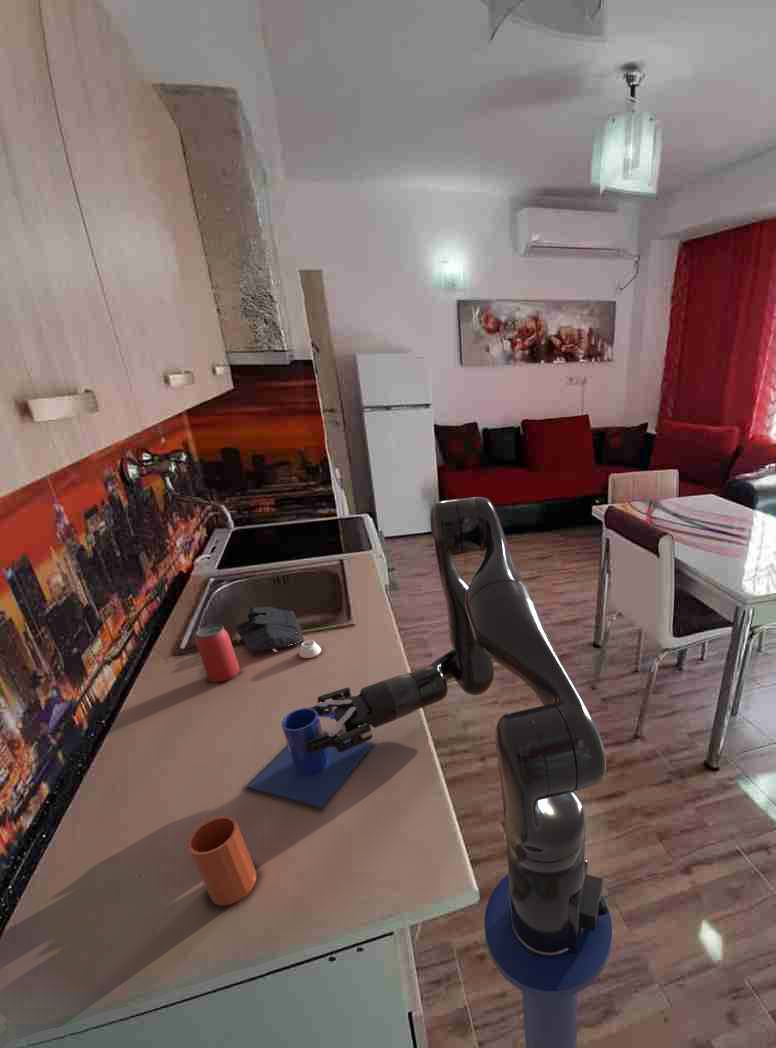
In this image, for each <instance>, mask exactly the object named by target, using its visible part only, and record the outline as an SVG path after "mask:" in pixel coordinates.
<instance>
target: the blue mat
mask: <svg viewBox="0 0 776 1048" xmlns="http://www.w3.org/2000/svg"><path fill="white" fill-rule="evenodd" d="M325 733H326V732H323V734H325ZM327 735H329V733H327ZM350 740H351V739H347V740H345V741H344V743H347V742H349V741H350ZM372 746H373V743H371V742H367V741H365V742H363V743H361V744H359V745H356V746H354V747H352V748H350V749H348V750H345V751H343V752H338V749H337V748H335V747H332V746H330V747H328V748H327V751H328V755H329V763H328V765H327V766H326V768H325V769H323V770H322V771H321V772H319V773H317V774H314V775H311V776H302V775H299V774H298V773H297V772H296V770H295V768H294V765H293V762H292V758H291V755H290V752H289V748H288V746H287V747H286V748H285V749H284V750H283V751H282V752H281V753H279V755H278V756H277V757H275V759H274V760H273V761H272V762H270V763H269V765H268V766H267V767H266V768H265V769H264V770H262V771H261V773H260V774H258V775H257V776H256V777H255V779H254V780H253V781H251V783H249V784H248V786H247V788H248V789H252V790H255V791H258V792H262V793H266V794H268V795H272V796H276V797H279V798H283V799H287V800H290V801H293V802H297V803H301V804H304V805H308V806H311V807H315V808H318V809H322V808H323V807H324V806H325V804H326V803H327V802H328V801H329V800H330V798H331V797H332V795H334V793H335V792H336V791H337V789H338V788H339V787H340V786H341V784H343V782H344V780H345V779H347V777H348V776H349V774H350V773H351V772H352V771H353V770H354V768H355V767H356V766H357V764H358V763H359V762H360V761H361V760H362V758H363V757H364V756H365V755H366V753H368V751H369V749H370V748H371V747H372Z"/></svg>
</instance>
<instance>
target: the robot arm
mask: <svg viewBox="0 0 776 1048" xmlns="http://www.w3.org/2000/svg"><path fill="white" fill-rule="evenodd" d="M429 519H430V521H429V522H430V532H431V538H432V544H433V549H434V555H435V559H436V565H437V570H438V574H439V578H440V583H441V584H440V585H441V588H442V592H443V596H444V600H445V605H446V612H447V623H448V634H449V641H450V645H451V647H452V649H451V650H449V651H448V652H446V653H445V654H443V655H442V656H439V658H437V659H436V660H435V661H433V662H432V663H430V664H429V665H427V666H425V667H421V668H419V669H415V670H414V671H410V672H408V673H403V674H399V675H396V676H395V675H394V676H392V677H389V678H387V679H384V680H382V681H379V682H375V683H373V684H370V685H367V686H364V687H362V688H361V689H360V693H359V694H358V695H353V696H352V692H351V688H350V687H343V688H341V689H338V690H335V691H331V692H328V693H325V694H322V695H319V696H318V697H317V698H316V700H317V702H316V703H315V705H313V706H311V707H310V708H311V709H314V710H316V711H317V712H318V716H319V718H330V719H331V720H335V722H336V724H335V726H334V728H332V729H331V730H330V731H329V733H327V732H324V733H325V734H323V735H320V736H318V737H315V738H312V739H310V740H307V741H306V742H305V747H306V751H307V753H309V754H310V753H315V752H317V751H320V750H323V749H325V748H328V747H330V746H332V747H335V748H337V749H338V752H343V751H345V750H348V749H350V748H352V747H354V746H356V745H359V744H361V743H363V742H367V741H370V740H371V739H372V738H373V733H372V728H373V729H376V728H378V727H381V726H384V725H386V724H389V723H392V722H394V721H396V720H399V719H401V718H404V717H406V716H409V715H411V714H413V713H415V712H416V711H418V710H420V709H423V708H425V707H428V706H430V705H433V704H436V703H438V702H440V701H443V700H444V699H445V698H446V697H447V696H448V691H449V690H448V689H449V688H448V684H447V683H448V681H450V680H452V679H454V680H455V681H456V683H457V684H458V685H459V687H460V688H461V689H462V691H463V692H465V693H466V694H468V695H471V696H480V695H482V694H484V693H486V692H487V691H488V690H489V689H490V687H491V686H492V684H493V681H494V678H495V667H494V662H496V663H497V664H499V665H500V666H501V667H503V668H504V669H505V670H506V671H509V673H511V674H513V675H514V676H516V677H517V678H519V679H520V680H522V681H523V682H524V683H525V684H526V685H527V686H528V687H529V688H530V689H531V690H532V691H533V692H534V693H535V695H536V696H537V697H538V699H539V700H540V702H541V703H542V705H539V706H534V707H530V708H525V709H521V710H516V711H512V712H507V713H504V714H503V715H501V716H500V718H499V719H498V721H497V723H496V726H495V733H494V734H495V735H494V737H495V741H494V742H495V751H496V759H497V765H498V771H499V777H500V778H499V779H500V785H501V795H502V807H503V815H504V829H505V839H506V840H505V842H506V855H507V869H508V874H509V885H510V896H509V899H510V898H511V903H510V906H511V921H512V928H513V931H514V934H515V936H516V938H517V940H518V941H519V943H520V944H521V945H522V946H523V947H524V948H525V949H526V950H527V951H529V952H530V953H532V954H534V955H537V956H540V957H544V958H555V957H559V956H562V955H565V954H567V953H573V954H578V951H579V946H580V941H581V937H582V934H583V930H584V928H585V929H588V930H591V931H595V930H596V925H597V919H598V916H600V915H605V914H607V912H608V908H609V906H608V907H607V906H606V905H605V904H604V903H602V902H601V897H602V895H603V885H604V884H603V881H604V878H601V877H598V876H595V875H592V874H591V875H590V874H589V861H588V859H585V858H586V857H585V855H586V851H585V849H586V848H585V847H586V812H585V809H584V806H583V804H582V801H581V800H580V798H579V797H578V795H577V794H576V793H575V792H578V791H583V790H585V789H588V788H592V787H594V786H596V785H599V784H600V783H601V782H602V781H603V779H604V778H605V775H606V773H607V772H606V771H607V758H606V757H607V756H606V751H605V748H604V744H603V741H602V738H601V735H600V732H599V729H598V727H597V725H596V723H595V721H594V718H593V716H592V714H591V713H590V711H589V708H588V707H587V705H586V703H585V702H584V699H583V698H582V696H581V694H580V692H579V691H578V689H577V687H576V686H575V684H574V682H573V681H572V678H571V677H570V676H569V673H568V672H567V669H565V666H564V665H563V663H562V662H561V659H560V658H559V655H558V654H557V652H556V650H555V647H554V646H553V643H552V641H551V639H550V637H549V634H548V632H547V629H546V628H545V625H544V623H543V620H542V618H541V614H540V612H539V610H538V608H537V605H536V603H535V601H534V599H533V596H532V594H531V592H530V590H529V588H528V586H527V585H526V582H525V580H524V578H523V576H522V574H521V572H520V570H519V567H517V564H516V561H515V559H514V557H513V554H512V553H511V549H510V547H509V546H510V545H509V544H508V541H507V538H506V535H505V532H504V528H503V525H502V522H501V519H500V517H499V513H498V511H497V509H496V507H495V506H494V504H493V502H492V501H491V500H490V499H489V498H487V497H483V496H473V497H466V498H465V497H464V498H455V499H447V500H446V499H445V500H440V501H437V502H435V503H434V504H433V505H432V506H431V510H430V518H429ZM479 553H482V554H484V556H483V559H482V561H481V563H480V564H479V566H478V568H477V569H476V571H475V573H474V574H473V577H472V578H471V579H470V582H469V584H468V582H467V581H466V579H464V577H463V576H462V574H461V573H460V571H459V569H458V567H457V564H456V561H455V557H457V556H465V555H473V554H479ZM493 661H494V662H493ZM328 700H329V701H328ZM371 727H372V728H371ZM327 734H329V735H327ZM347 739H351V740H350V741H349V742H347V743H344V741H345V740H347ZM508 893H509V890H508Z"/></svg>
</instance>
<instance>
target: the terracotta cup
mask: <svg viewBox="0 0 776 1048" xmlns="http://www.w3.org/2000/svg"><path fill="white" fill-rule="evenodd" d="M186 847H187V850H188V852H189V854H190V857H191V859H192V861H193V863H194V865H195V868H196V869H197V872H198V874H199V876H200V878H201V881H202V883H203V885H204V887H205V889H206V891H207V893H208V895H209V898H210V899H211V901H212V903H214V904H215V905H217V906H229V905H233V904H235V903H237V902H239V901H241V900H242V899H243V898H245V897H246V896H247V895H248V894H249V893H250V892H251V891H252V889H253V888H254V886H255V884H256V881H257V871H256V867H255V865H254V863H253V860H252V858H251V855H250V852H249V850H248V847H247V845H246V842H245V839H244V837H243V834H242V832H241V828H240V827H239V823H238V822H237V821H236V819H235V818H234V817H232V816H228V815H222V816H216V817H213V818H210V819H207V820H206V821H205V822H203V823H202V824H200V825H199V826H198V827H197V828H195V830H193V832H192V833H191V834H190V836H189V838H188V840H187V846H186Z"/></svg>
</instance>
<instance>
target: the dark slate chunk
mask: <svg viewBox="0 0 776 1048" xmlns="http://www.w3.org/2000/svg"><path fill="white" fill-rule="evenodd" d="M248 611H249V612H248V613H247V618H248V620H246V621H243V622H241V623H238V624H235V629H236V631H237V633H238V635H239V637H240V639H241V641H242V642H243V643H244V645H245V646H246V649H247V650H248V651H249V652H250V653H251V654H258V653H262V652H267V651H271V650H270V649H272V650H275V649H281V648H280V647H283V648H288V647H294V646H296V645H300V644H302V643H303V642H305V639H304V638H305V637H304V636H303V632H302V628H301V626H300V624H299V619H298V618H297V615H296V613H295V612H294V611H293V610H287V609H286V610H283V609H278V608H277V607H272V606H260V607H257V606H253V607H250V608H249V610H248ZM295 630H298V634H299V636H300V638H301V639H302V641H300V640H301V639H300V638H299V636H298V635H294V634H293V633H294V632H295ZM298 641H300V642H298ZM297 642H298V643H297ZM295 643H296V644H295ZM290 644H293V645H290ZM288 645H290V646H288ZM285 646H287V647H285ZM283 648H282V649H283ZM261 651H262V652H261ZM257 652H258V653H257Z"/></svg>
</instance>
